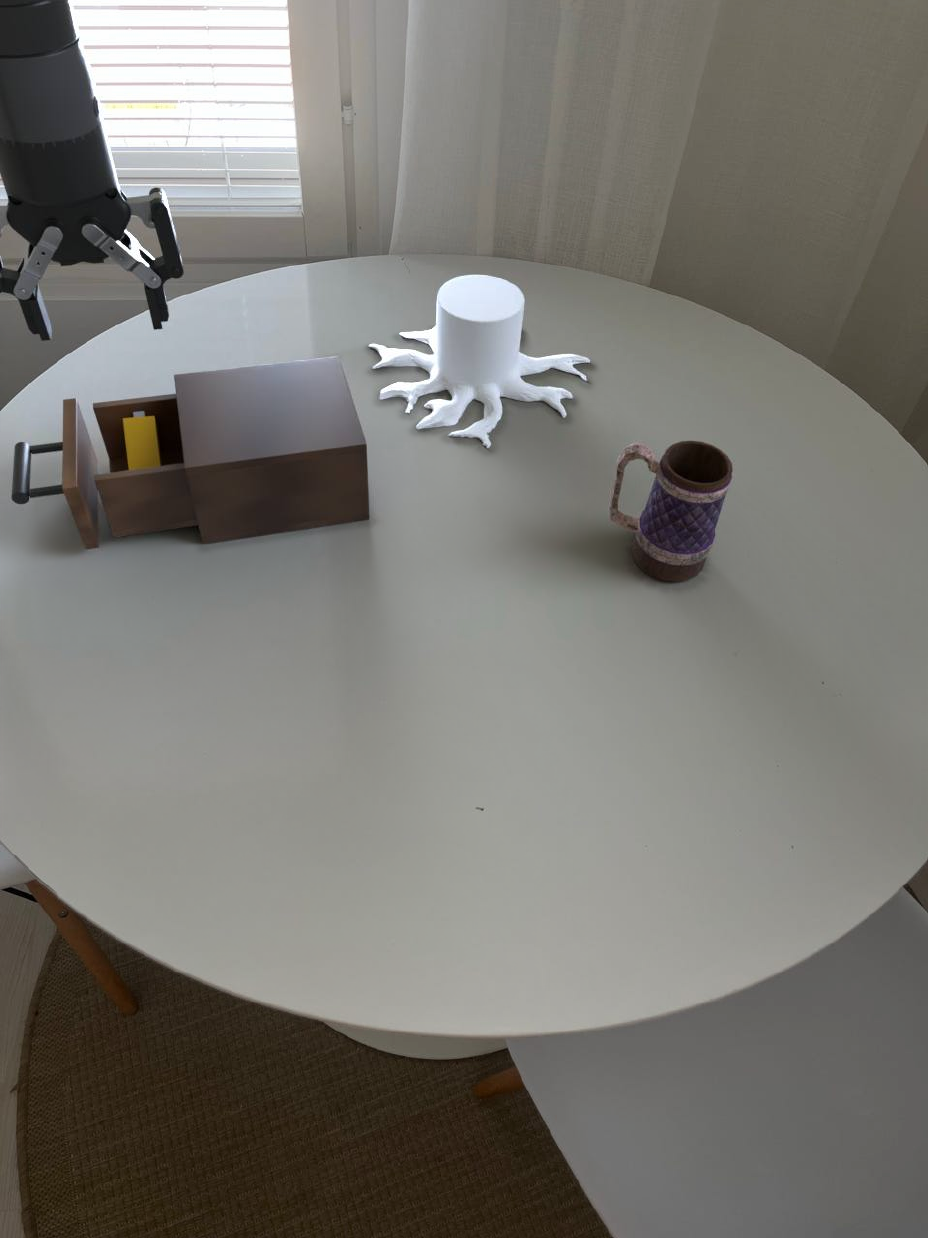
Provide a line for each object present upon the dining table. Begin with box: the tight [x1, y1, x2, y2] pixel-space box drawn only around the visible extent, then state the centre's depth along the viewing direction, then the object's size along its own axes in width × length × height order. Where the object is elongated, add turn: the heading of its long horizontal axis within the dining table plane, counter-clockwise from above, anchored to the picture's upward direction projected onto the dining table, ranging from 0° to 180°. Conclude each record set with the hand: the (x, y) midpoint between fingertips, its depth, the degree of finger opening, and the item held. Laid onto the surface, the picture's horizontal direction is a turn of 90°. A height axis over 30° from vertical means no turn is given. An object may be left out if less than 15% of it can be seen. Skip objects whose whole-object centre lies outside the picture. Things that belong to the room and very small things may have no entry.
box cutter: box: [123, 411, 162, 470], centre depth 84 cm, size 9×3×2 cm, turn 14°
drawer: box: [10, 393, 198, 551], centre depth 84 cm, size 20×12×7 cm, turn 105°
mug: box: [608, 440, 734, 582], centre depth 82 cm, size 10×7×12 cm
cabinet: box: [173, 355, 371, 545], centre depth 86 cm, size 16×14×9 cm
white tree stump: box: [368, 273, 591, 449], centre depth 100 cm, size 23×25×9 cm
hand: (102, 329), depth 73 cm, fingers open, 8 cm apart
